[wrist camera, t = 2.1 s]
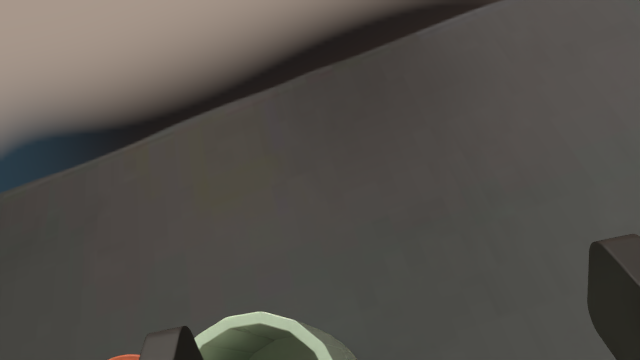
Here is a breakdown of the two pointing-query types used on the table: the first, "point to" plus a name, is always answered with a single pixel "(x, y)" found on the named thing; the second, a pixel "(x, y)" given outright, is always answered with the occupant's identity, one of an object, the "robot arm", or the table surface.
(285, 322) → the pen pot
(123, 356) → the marker
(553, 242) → the table surface
